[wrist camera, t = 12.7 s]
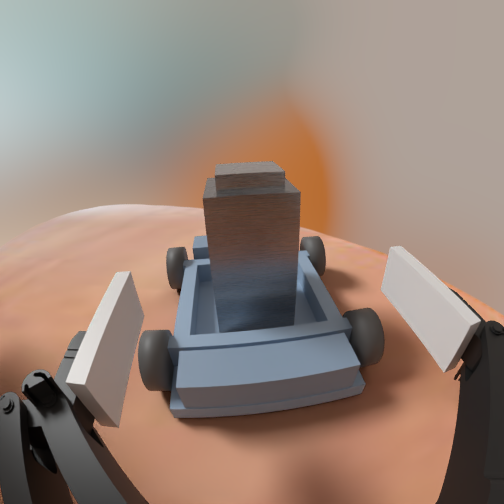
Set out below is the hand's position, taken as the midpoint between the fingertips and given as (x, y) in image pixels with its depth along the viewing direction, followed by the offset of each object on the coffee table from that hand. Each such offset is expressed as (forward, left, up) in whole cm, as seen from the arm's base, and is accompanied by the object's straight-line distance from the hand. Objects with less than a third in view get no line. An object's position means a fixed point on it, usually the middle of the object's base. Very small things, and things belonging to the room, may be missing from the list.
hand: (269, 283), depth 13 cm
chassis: (0, +8, -9) cm, 13 cm away
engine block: (0, +8, -8) cm, 12 cm away
